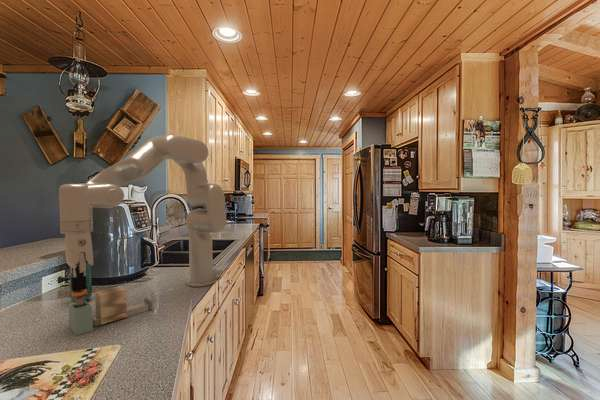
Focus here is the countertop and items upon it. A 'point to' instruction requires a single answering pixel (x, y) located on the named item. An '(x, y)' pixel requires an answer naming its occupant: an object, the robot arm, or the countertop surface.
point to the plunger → (79, 297)
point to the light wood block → (111, 304)
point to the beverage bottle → (88, 282)
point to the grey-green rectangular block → (80, 318)
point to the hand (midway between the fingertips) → (78, 289)
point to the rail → (131, 310)
